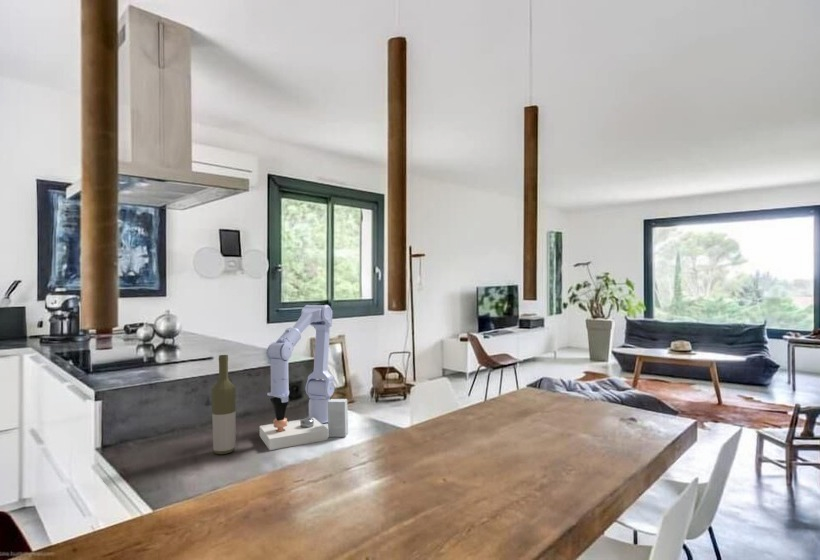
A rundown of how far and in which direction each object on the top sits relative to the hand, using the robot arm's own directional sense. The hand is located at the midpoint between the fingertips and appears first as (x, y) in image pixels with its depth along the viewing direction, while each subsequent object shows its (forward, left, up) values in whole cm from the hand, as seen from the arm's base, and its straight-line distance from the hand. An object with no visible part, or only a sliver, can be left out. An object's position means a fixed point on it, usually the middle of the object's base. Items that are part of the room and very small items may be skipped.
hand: (280, 419), depth 153 cm
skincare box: (+4, +19, -7) cm, 20 cm away
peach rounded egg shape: (0, 0, -5) cm, 5 cm away
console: (-1, +5, -7) cm, 8 cm away
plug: (0, +9, -7) cm, 11 cm away
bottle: (+1, -17, -7) cm, 19 cm away
